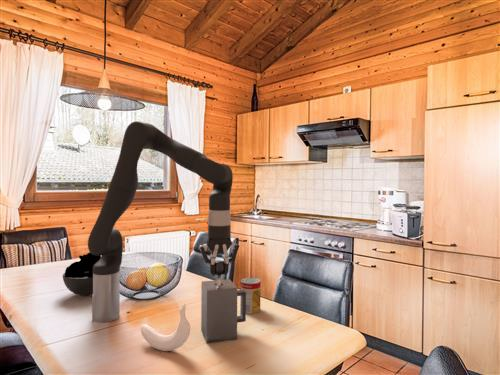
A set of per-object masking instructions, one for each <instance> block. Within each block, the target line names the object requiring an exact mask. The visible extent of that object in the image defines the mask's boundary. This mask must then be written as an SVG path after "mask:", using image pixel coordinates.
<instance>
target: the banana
mask: <svg viewBox="0 0 500 375" xmlns="http://www.w3.org/2000/svg"><path fill="white" fill-rule="evenodd" d="M178 311H179V321H178V324H177V327H176V329H175V331H174V332H172V333H170V334H169V335H168V334H167V335H164V334H161V333H160V332H158V331H157V330H156V329H154V328H153V327H151V326H149V324H146V323H144V324H142V325H141V326H140V332H141V335H142V337H143V339H144V340H145V341H146V342H147V344H148V345H149V346H151V347H152V348H154V349H155V350H158V351H162V352H171V351H175V350H178V349H180V348H181V347H182V346H183V345H184V344H185V343H186V342H187V341H188V338H189V336H190V333H191V325H190V322H189V320H188V319H187V317H186V303H184V304H183V306H182V307H180V308H179V310H178Z"/></svg>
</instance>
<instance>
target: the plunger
mask: <svg viewBox="0 0 500 375" xmlns="http://www.w3.org/2000/svg"><path fill="white" fill-rule="evenodd" d="M214 264H215V276H217V277H216V278H217V279H216V280H217V286H221V280H222V275H223V276H224V260H215V263H214Z"/></svg>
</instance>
